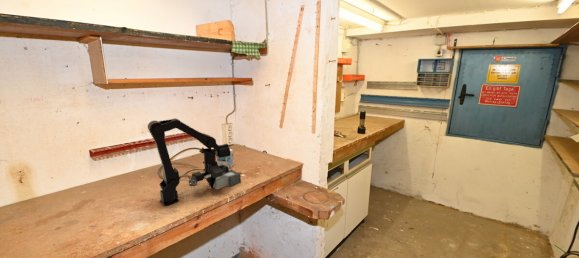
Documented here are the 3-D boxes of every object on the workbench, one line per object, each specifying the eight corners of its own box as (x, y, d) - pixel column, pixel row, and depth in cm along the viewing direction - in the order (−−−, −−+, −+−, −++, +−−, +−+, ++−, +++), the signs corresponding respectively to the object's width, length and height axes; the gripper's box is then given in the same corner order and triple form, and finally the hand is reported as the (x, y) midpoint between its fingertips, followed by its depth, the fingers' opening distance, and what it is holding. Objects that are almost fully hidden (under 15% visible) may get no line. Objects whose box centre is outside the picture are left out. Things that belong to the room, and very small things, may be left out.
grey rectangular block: (216, 189, 135) (216, 180, 134) (212, 187, 138) (212, 178, 137) (235, 182, 144) (235, 173, 143) (231, 180, 146) (231, 172, 145)
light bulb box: (227, 170, 160) (226, 154, 158) (217, 169, 162) (216, 153, 159) (234, 164, 171) (233, 149, 168) (225, 163, 172) (224, 148, 169)
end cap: (231, 186, 138) (230, 177, 137) (222, 182, 144) (221, 172, 143) (240, 182, 143) (240, 173, 142) (231, 178, 149) (231, 169, 147)
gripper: (201, 168, 119) (203, 199, 122) (234, 159, 132) (235, 186, 136) (189, 162, 126) (192, 191, 130) (222, 154, 140) (223, 180, 143)
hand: (211, 187), depth 134 cm, fingers closed
